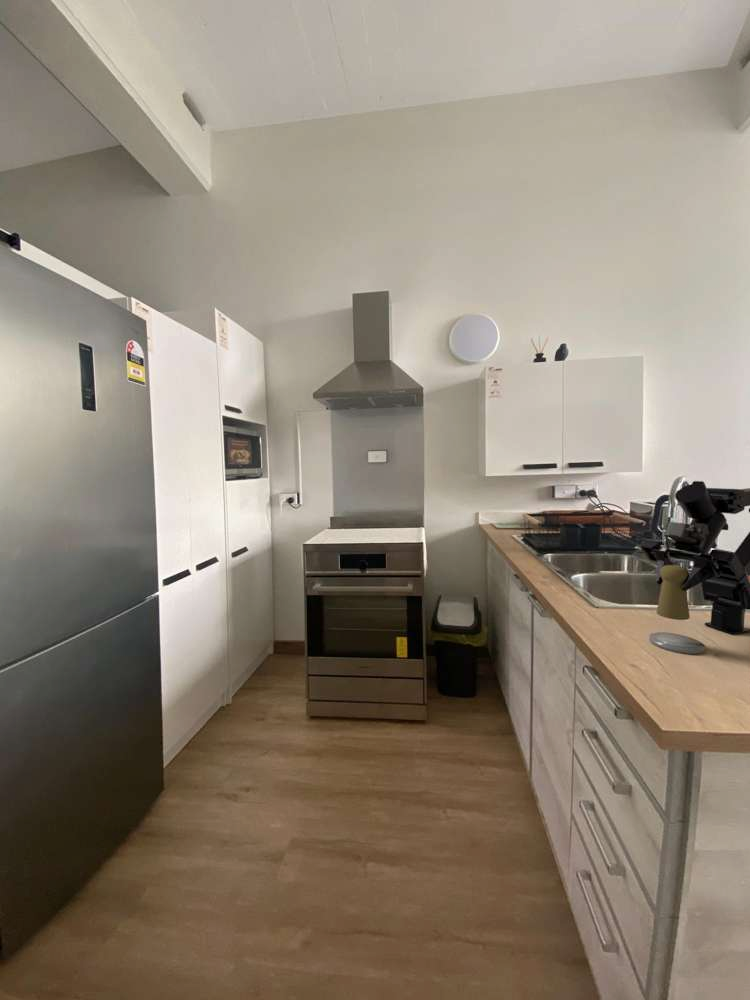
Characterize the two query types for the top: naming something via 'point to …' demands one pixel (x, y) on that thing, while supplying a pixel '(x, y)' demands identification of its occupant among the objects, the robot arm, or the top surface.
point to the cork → (673, 593)
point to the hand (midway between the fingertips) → (670, 586)
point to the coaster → (677, 643)
